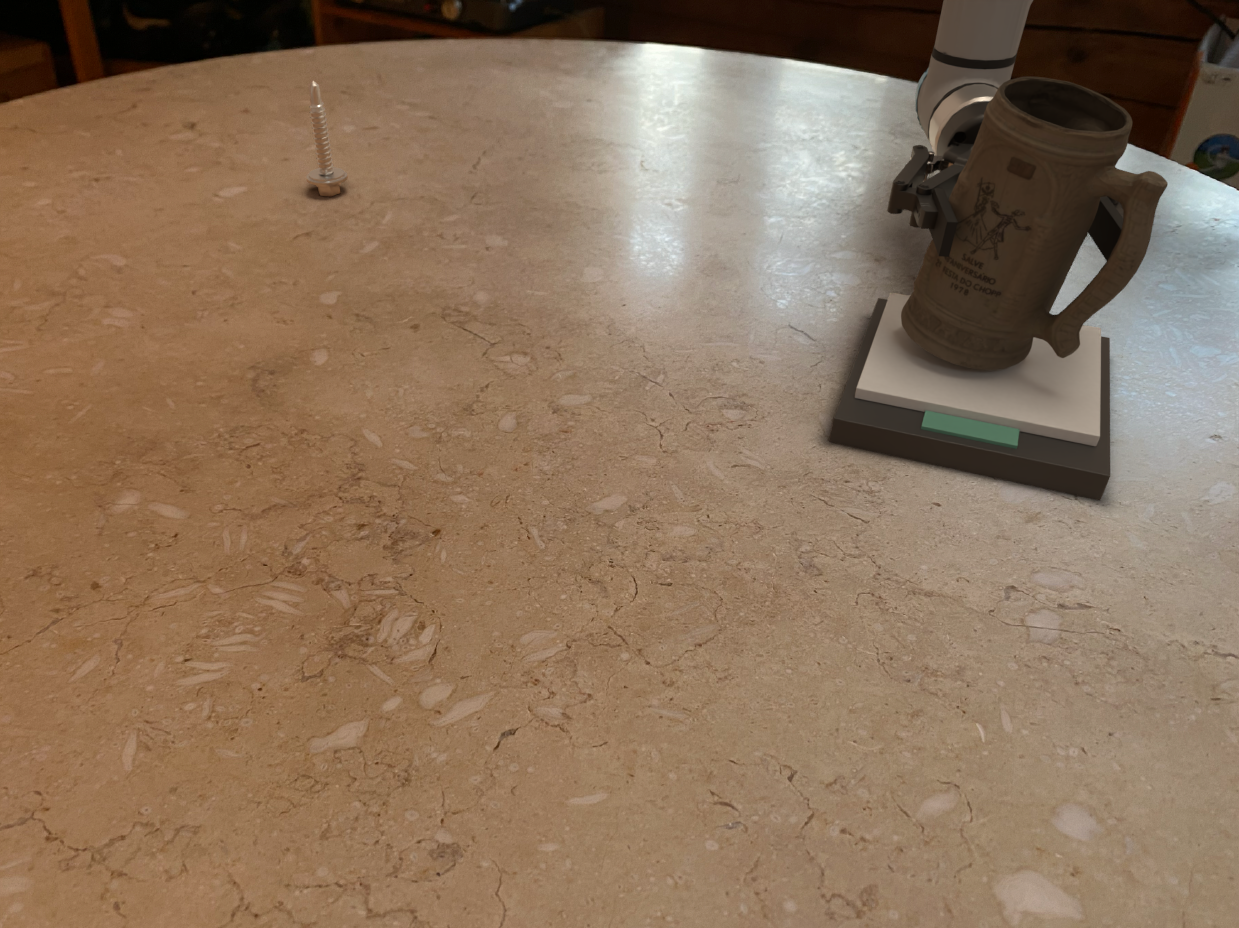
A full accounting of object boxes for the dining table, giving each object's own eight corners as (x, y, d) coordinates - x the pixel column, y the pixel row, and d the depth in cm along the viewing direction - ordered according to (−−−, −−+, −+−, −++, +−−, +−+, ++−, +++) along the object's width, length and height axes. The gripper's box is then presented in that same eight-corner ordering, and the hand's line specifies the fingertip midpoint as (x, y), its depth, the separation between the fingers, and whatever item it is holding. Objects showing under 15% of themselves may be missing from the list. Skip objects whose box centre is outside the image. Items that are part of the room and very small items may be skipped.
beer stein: (867, 320, 87) (969, 87, 72) (933, 281, 93) (1041, 58, 78) (1027, 423, 80) (1175, 189, 66) (1088, 373, 86) (1236, 149, 72)
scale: (1098, 367, 93) (1113, 327, 90) (1097, 508, 77) (1115, 464, 74) (872, 326, 99) (880, 287, 96) (827, 449, 83) (835, 407, 80)
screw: (341, 201, 123) (303, 199, 123) (355, 186, 127) (317, 184, 127) (326, 88, 115) (284, 86, 115) (340, 75, 118) (300, 73, 119)
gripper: (1104, 190, 94) (1185, 300, 77) (836, 177, 97) (858, 281, 80) (1133, 105, 89) (1226, 203, 73) (851, 94, 92) (877, 186, 75)
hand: (1034, 244), depth 76 cm, fingers closed on beer stein, 11 cm apart
